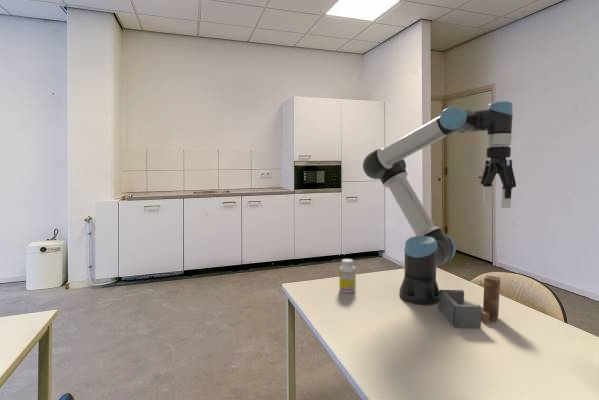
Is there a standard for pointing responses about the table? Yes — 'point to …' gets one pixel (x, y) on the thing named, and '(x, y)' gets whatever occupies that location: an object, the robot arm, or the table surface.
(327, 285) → the table surface
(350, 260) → the supplement bottle
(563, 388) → the table surface
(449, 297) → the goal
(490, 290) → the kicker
